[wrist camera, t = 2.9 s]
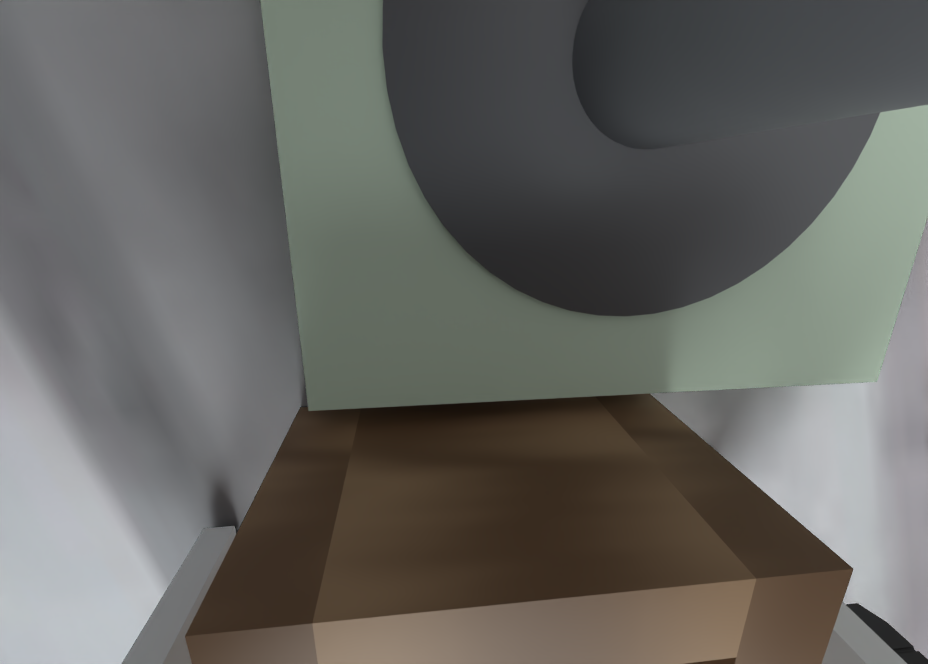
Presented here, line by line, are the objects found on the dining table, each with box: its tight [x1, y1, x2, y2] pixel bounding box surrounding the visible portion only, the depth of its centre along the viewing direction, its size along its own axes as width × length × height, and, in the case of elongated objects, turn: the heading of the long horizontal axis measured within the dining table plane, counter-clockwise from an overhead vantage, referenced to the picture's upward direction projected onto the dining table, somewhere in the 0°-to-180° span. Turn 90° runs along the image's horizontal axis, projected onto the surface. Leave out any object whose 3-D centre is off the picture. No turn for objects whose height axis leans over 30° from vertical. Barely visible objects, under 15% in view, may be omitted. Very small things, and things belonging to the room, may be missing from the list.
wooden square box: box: [185, 394, 853, 664], centre depth 10 cm, size 9×9×6 cm
